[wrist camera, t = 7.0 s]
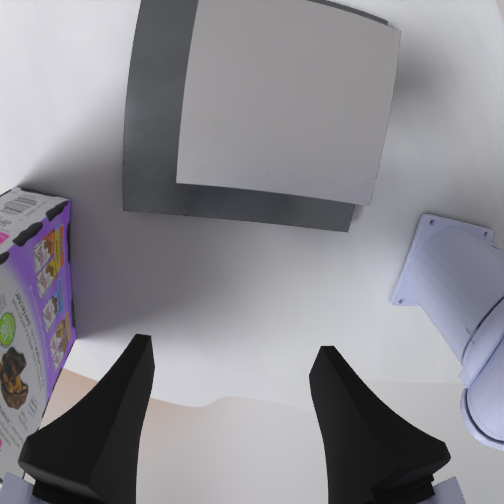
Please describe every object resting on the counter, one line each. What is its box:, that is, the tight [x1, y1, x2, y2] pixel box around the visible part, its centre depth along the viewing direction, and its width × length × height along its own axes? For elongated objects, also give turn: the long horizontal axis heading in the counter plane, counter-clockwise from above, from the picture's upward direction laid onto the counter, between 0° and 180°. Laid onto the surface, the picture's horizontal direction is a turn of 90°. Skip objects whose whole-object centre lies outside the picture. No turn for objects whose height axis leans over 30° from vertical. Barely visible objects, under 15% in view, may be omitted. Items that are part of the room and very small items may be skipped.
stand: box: [123, 0, 388, 232], centre depth 14 cm, size 14×14×4 cm
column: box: [176, 0, 401, 206], centre depth 8 cm, size 4×4×7 cm
